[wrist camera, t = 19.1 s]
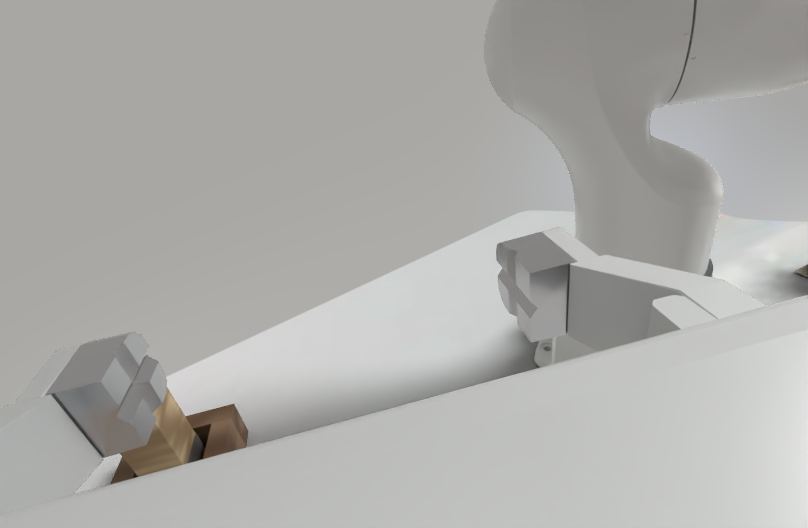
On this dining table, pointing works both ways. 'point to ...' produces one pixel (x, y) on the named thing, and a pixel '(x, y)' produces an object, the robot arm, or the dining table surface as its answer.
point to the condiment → (803, 271)
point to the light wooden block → (166, 442)
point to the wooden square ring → (206, 436)
